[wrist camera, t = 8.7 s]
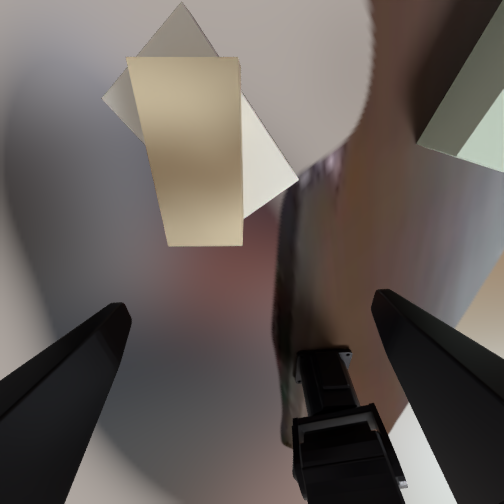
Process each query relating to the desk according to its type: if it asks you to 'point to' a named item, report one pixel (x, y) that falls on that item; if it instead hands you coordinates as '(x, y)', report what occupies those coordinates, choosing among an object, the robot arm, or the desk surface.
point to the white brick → (253, 130)
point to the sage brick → (474, 105)
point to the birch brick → (193, 145)
